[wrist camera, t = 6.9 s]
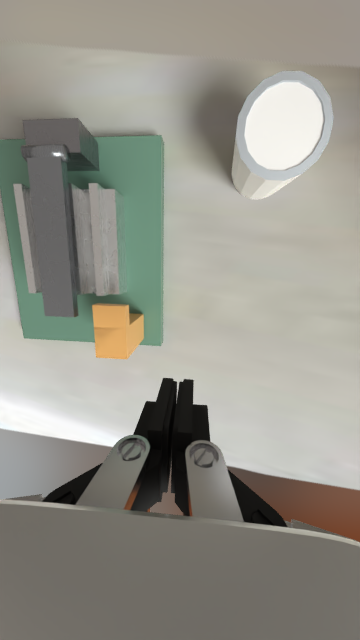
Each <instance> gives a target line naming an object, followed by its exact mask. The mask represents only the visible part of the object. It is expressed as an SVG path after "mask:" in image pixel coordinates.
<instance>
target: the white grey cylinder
mask: <svg viewBox="0 0 360 640" xmlns="http://www.w3.org/2000/svg"><path fill="white" fill-rule="evenodd" d="M333 120H334V117H333V111H332V104H331V98H330V96H329V94H328V93H327V91H326V90H325V88H324V87H323V85H322V84H321V82H320V81H319V80H318V79H316V78H314V77H312V76H310V75H309V74H307V73H305V72H303V71H281V72H279V73H277V74H275V75H273V76H271V77H268V78H266V79H264V80H263V81H262V82H261V83H260V84H259V85H258V86H257V87H256V88H255V89H254V90H253V91H252V92H251V93H250V94H249V95H248V96H247V98H246V101H245V103H244V105H243V107H242V109H241V111H240V113H239V115H238V121H237V130H236V138H235V147H234V156H233V164H232V173H231V176H232V180H233V184H234V186H235V188H236V189H237V190H238V192H239V193H240V194H241V195H243V196H245V197H247V198H249V199H262V198H265V197H268V196H270V195H272V194H273V193H275V192H276V191H278V190H279V189H281V188H282V187H284V186H285V185H286V184H288V183H289V182H291V181H292V180H294V179H295V178H297V177H298V176H300V175H301V174H302V173H304V172H305V171H306V170H307V169H308V168H309V167H310V166H312V165H313V164H314V163H315V162H316V161H317V160H318V159H319V157H320V156H321V154H322V152H323V150H324V149H325V147H326V145H327V144H328V142H329V139H330V134H331V129H332V125H333Z"/></svg>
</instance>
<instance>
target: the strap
mask: <svg viewBox="0 0 360 640" xmlns="http://www.w3.org/2000/svg"><path fill="white" fill-rule="evenodd" d="M21 154H22V156H23V158H24V159H25V161H26V162H27V165H28V174H29V182H30V191H31V200H32V209H33V217H34V226H35V235H36V244H37V252H38V261H39V270H40V279H41V287H42V296H43V305H44V314H45V316H55V317H77V316H79V314H78V301H77V288H76V276H75V263H74V250H73V238H72V225H71V212H70V200H69V187H68V174H67V162H70V161H71V155H70V151H69V149H68V147H67V146H66V145H65V144H47V145H22V146H21Z"/></svg>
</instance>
